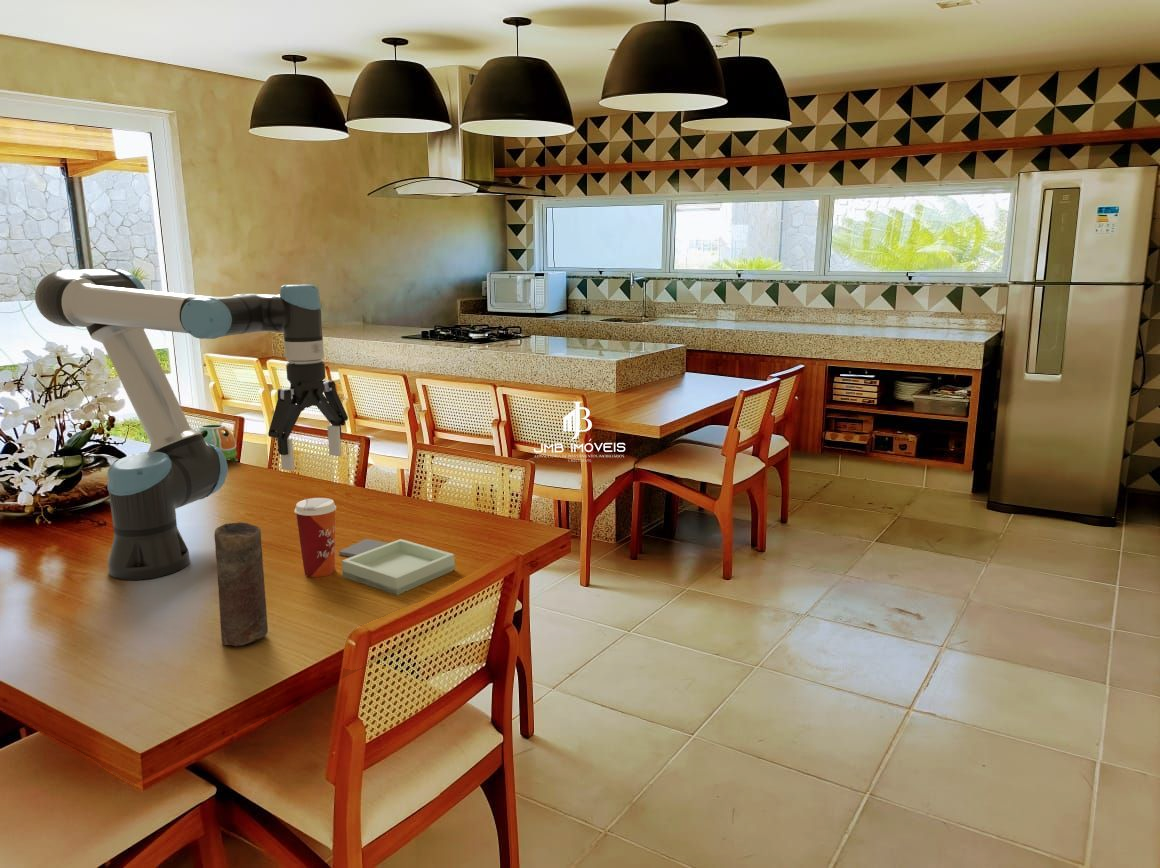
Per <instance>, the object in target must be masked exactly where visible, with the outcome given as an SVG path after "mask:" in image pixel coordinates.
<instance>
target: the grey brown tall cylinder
mask: <svg viewBox="0 0 1160 868" xmlns="http://www.w3.org/2000/svg"><path fill="white" fill-rule="evenodd" d="M213 537H214V545H215V547H214V548H215V549H214V550H215V559H216V573H217V574H216V575H217V576H216V577H217V588H218V603H219V606H218V607H219V620H220V621H219V623H220V635H221V643H222V644H223V646H235V647H240V646H245V645H246V644H250V643H253V642H257V641H259V640H261V639H263V638H265V636H267V633H268V631H269V630H268V614H267V601H266V600H267V599H266V590H265V589H266V588H265V587H266V586H265V573H264V560H263V547H262V530H261V528H260V527H259V526H257V525H254V524H250V523H248V522H241V521H239V522H232V523H231V522H230V523H229V522H228V523H224V524H223V525H220V526H218V527H216V528H215V530H214V536H213Z"/></svg>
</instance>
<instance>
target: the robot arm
mask: <svg viewBox="0 0 1160 868" xmlns="http://www.w3.org/2000/svg"><path fill="white" fill-rule="evenodd" d="M279 290H280V291H279V294H269V293H266V294H265V293H262V294H261V293H251V292H250V293H249V292H248V293H240V294H234V295H229V296H208V295H196V294H189V293H187V294H186V293H177V292H168V291H167V292H166V291H157V290H149V289H147V290H146V287H145V286H144V284H143V283H142V281H141V280H140V279H139V278H138V277H136V276H135V275H134V274H132V273H131V272H129V271H126V270H123V269H114V268H108V267H103V268H100V269H98V268H97V269H96V268H95V269H62V270H57V271H53V272H51V273H49V274H47V275H45V276H44V277H43V278H42V279H41V280H40V281H39V283H38V284H37V286H36V289H35V292H34V302H35V305H36V307H37V309H38V311H39V313H40V314H41V316H42V317H44V318H45V319H46V320H48V321H49V322H51V323H53V324H55V325H57V326H61V327H80V328H81V327H82V328H86V330H87V332H88V333H89V336H90V337H91V339H92V340H94V341H96V342H99V343H102V345H103V347H104V350H105V351H106V353H107V355H108V357H109V360H110V361H111V363H112V366H113V368H114V370H115V372H116V375H117V376H118V379H119V381H120V382H121V384H122V386H123V389H124V390H125V393H126V394H127V397H128V399H129V401H130V403H131V405H132V408H133V409H134V411H135V413H136V415H137V417H138V420H139V421H140V424H141V426H142V428H143V430H144V432H145V435H146V436H147V439H148V440H149V443H150V447H149V449H148V451H146V452H140V453H138V454H137V453H136V454H130V455H127V456H124V457H122V458H120V459H118V460H116V461H114V462H113V463H112V464H110V466H109V468H108V469H107V485H106V487H107V488H106V489H107V491H108V496H109V498H108V499H109V505H110V510H111V511H110V512H111V519H112V525H113V536H114V537H113V541H112V544H111V549H110V553H109V556H108V562H107V568H108V574H109V576H111V578H115V579H118V580H123V581H124V580H126V581H134V580H136V581H138V580H139V581H140V580H141V581H142V580H148V579H156V578H160V577H164V576H168V575H171V574H174V573H176V572H178V571H180V570H183V569H184V568H186V567H187V566H188V565H189V564H190V561H191V559H190V551H189V548H188V546H187V545H186V542H185V540H184V538H183V536H182V535H181V532H180V530H179V529H178V523H177V513H176V509H179V508H181V507H183V506H186V505H188V504H191V503H193V502H196V501H199V500H204V499H206V498H208V497H210V496H211V495H212V494H214V493H216V492H218V491H219V490H221V488H222V487H223V486H224V484H225V482H226V478H228V477H227V476H228V469H229V468H228V463H227V460H226V458H225V456H224V454H223V453H222V451H221V450H220V449H219V448H218V447H215V446H214V445H213V444H210V443H206V442H205V440H204V438H203V436H202V434H201V433H200V432H197V430H195V429H192V428H191V426H190V424H189V422H188V420H187V417H186V416H185V413H184V411H183V409H182V408H181V407H182V406H181V405H180V403H179V401H178V398H177V397H176V395H175V393H174V390H173V388H172V386H171V384H170V382H169V379H168V378H167V375H166V373H165V371H164V369H163V367H162V365H161V363H160V361H159V359H158V357H157V354H156V353H155V350H154V348H153V346H152V343H151V342H150V339H149V338H148V335H147V333H146V331H145V330H156V331H163V332H172V333H182V334H189V335H191V336H192V337H194V338H196V339H208V340H211V339H213V340H214V339H218V338H220V337H221V338H223V337H228V336H234V335H235V336H236V335H242V334H249V333H252V334H253V333H257V332H258V333H259V332H279V333H281V332H283V333H282V334H283V340H284V341H283V342H284V355H285V360H286V361H287V363H286V364H285V369H286V379H287V381H288V382H289V383H290V387H289V389H288V388H278V389H277V401H276V404H275V409H274V412H273V416H272V419H271V422H270V424H269V425H270V427H269V429H268V432H267V433H268V434H267V435H268V437H269V438H273V439H276V440H277V449H278V450H277V451H278V455H280V460H281V461H280V463H281V470H284V471H292V472H293V471H295V469H296V468H295V458H294V445H293V438H289V437H290V435H291V434H292V431H293V430H294V427H295V425H296V423H297V421H298V419H299V417H300V416H301V413H302V412H304V411H305V409H308V408H310V407H313V406H314V407H317V409H318V410H319V412H320V413H322V415H323V416H324V417H325V419H326V420H327V422H329V423H330V424H329V425H327V437H328V438H327V441H328V455H329V456H334V457H341V456H342V445H341V444H342V442H341V440H342V436H343V435H342V426H345V425H346V421H348V419H349V416H348V413H347V412H346V409H345V407H344V405H343V403H342V401H341V398H340V396H339V394H338V392H337V389H336V383H335V380H328V379H327V380H326V363H325V362H324V361H322V360H324V358H325V353H324V352H325V351H324V339H323V326H322V324H323V323H322V309H323V308H322V304H321V297H320V291H319V288H318V287H317V286H316V285H315V284H307V283H306V284H305V283H304V284H283V285H281V286H280V289H279Z"/></svg>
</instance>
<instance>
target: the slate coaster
mask: <svg viewBox="0 0 1160 868" xmlns="http://www.w3.org/2000/svg"><path fill="white" fill-rule="evenodd" d="M388 543H389V542H385V541H380V540H374V539H370V538H364V539H362V540H361V541H358V542H356V543H354V544H352V545H349V546H348V547H345V548H343V549H340V550H339V551H338V554H339V555H340V556H343V557H348V558H350V557H353V556H356V555H358V554H361V553H364V552H366V551H369V550H372V549H375V548H377V547H380V546H383V545H386V544H388Z"/></svg>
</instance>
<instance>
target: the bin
mask: <svg viewBox="0 0 1160 868" xmlns="http://www.w3.org/2000/svg"><path fill="white" fill-rule="evenodd" d="M387 543H388V544H386V545H383V546H380V547H377V548H375V549H372V550H369V551H366V552H364V553H361V554H358V555H356V556H353V557H348V558H347V557H346V559H343V560H341V569H342V578H346V579H348V580H351V581H354V582H357V583H360V584H362V585H365V586H369V587H372V588H375V589H377V590H381V591H383V592H387V593H389V594H392V595H395V594H396V596H399V595H401V594H403V593H406V592H408V591H410V590H412V589H414V588H416V587H419V586H422V585H424V584H426V583H429V582H430V581H433V580H435V579H437V578H439V577H442V576H444V575H446V574H449V573H451V572H453V570H454V571H455V569H456V568H455V567H456V565H455V554H454V553H451V552H448V551H445V550H442V549H441V550H440V549H437V548H435V547H429V546H427V545H424V544H419V543H415V542H413V541H410V540H406V539H401V538H399V539H397V540H395V541H391V542H387ZM405 591H406V592H405Z"/></svg>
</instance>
